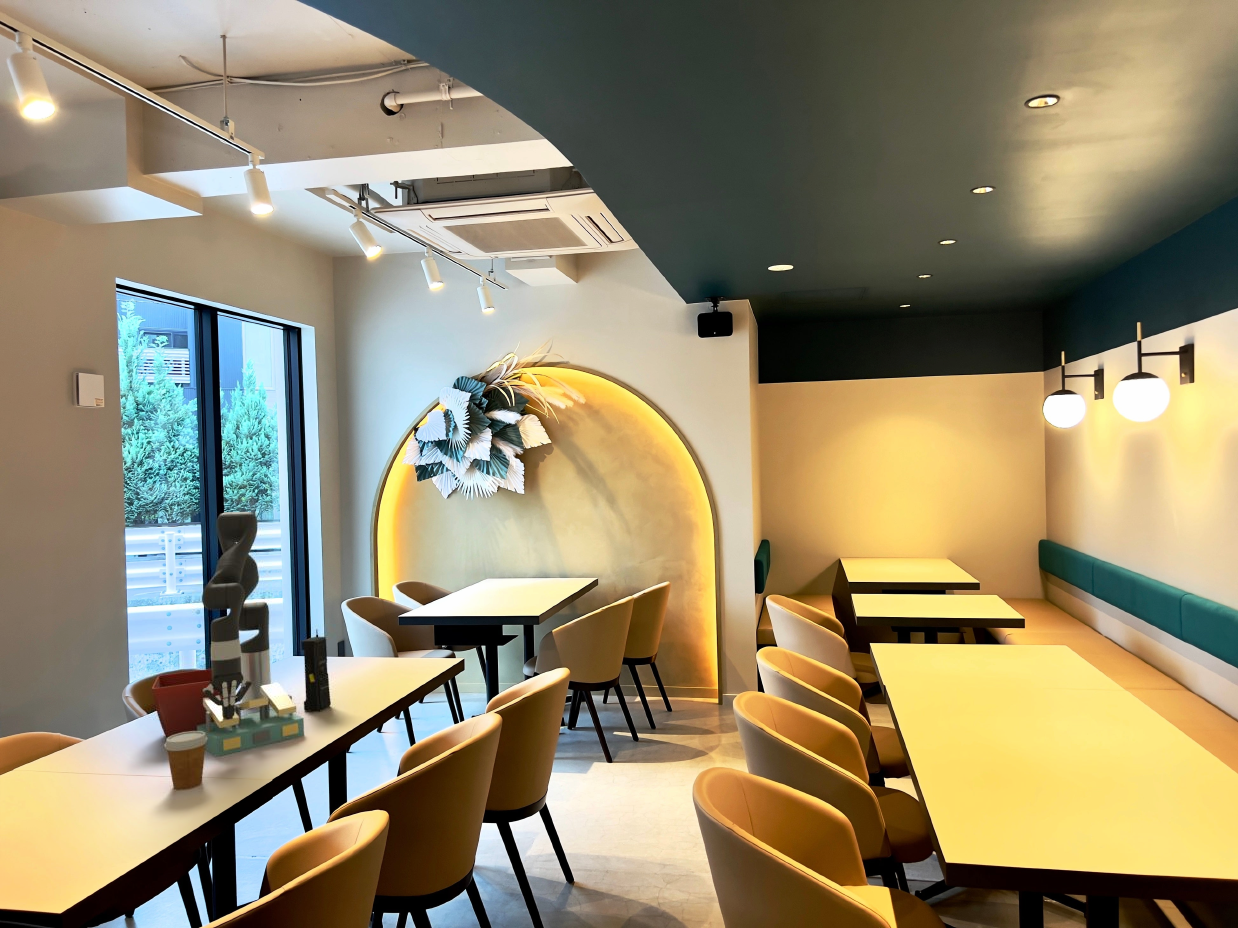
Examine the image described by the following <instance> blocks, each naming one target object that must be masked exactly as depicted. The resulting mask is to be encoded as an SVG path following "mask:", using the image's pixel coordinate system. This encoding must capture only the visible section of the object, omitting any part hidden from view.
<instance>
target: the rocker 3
mask: <svg viewBox="0 0 1238 928" xmlns="http://www.w3.org/2000/svg"><path fill="white" fill-rule="evenodd" d="M260 693H261V694H262V695H263V696H264V698H265V697H267V699H268V701H269V707H271V708H272V709H274V711H275V712H276V713H277V715H278V716H281V715H286V714H290V713H294V714H296V712H297V705H296V704H295V703H294V701H293V699H292V700H291V699H290V697H289V696H288V695H289V694H287V692H286V691H285V690H284V689H283V688H282V686H281V685H280V684H279V682H274V683H271V684H268V685H263V686H261V687H260Z"/></svg>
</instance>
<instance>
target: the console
mask: <svg viewBox="0 0 1238 928" xmlns="http://www.w3.org/2000/svg"><path fill="white" fill-rule="evenodd" d="M287 695H288V696H289V697H290V699H291V700H292V701H293V697H292V696H293V695H290V694H287ZM258 709H259V711H258V712H253V713H249V714H245V715H244V714H243V715H242V711H241V707H240V706H238V705H237V706H236V710H235V707H234V710H235V713H236V714H237V715H238V717H239V724H236V725H232V726H227V727H222V728H219V726H218V725H217V724H216V722H212V723H211V713H210V712H206V724H202V725H198V726H197V731H202V732H205V734H206V737H207V738H208V739H207V741H206V744H205V750H207V751H209V752H210V753H211V754H212V753H213V754H212V755H214V756H215V755H216V756H215V757H220V756H219V755H221V756H224V754H225V755H228V754H227V753H229V754H233V753H237V752H240V750H241V751H246V750H249V748H250V749H253V747H254V748H257V746H258V747H261V746H266V745H269V743H270V744H274V743H278V742H277V741H279V742H282V741H281V740H283V741H286V740H285V739H287V740H290V738H291V739H294V738H299V737H303V736H305V725H304V723H305V721H304V717H302V716H300V715H298V714H296V713H290V714H286V715H281V716H278V715H277V713H276V712H275V711H274V709H273V708H272V709H270V704H269V701H268V704H267V705H263V706H259V708H258ZM273 742H274V743H273ZM245 749H246V750H245Z"/></svg>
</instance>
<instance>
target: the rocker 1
mask: <svg viewBox="0 0 1238 928" xmlns="http://www.w3.org/2000/svg"><path fill="white" fill-rule="evenodd" d="M216 697H217V698H218V699H219V700H220V696H219V695H218V696H216ZM203 706H204V707H205V708H206V710H207V711H208V712H210V713H211V717H212V718H213V719H214V721H215V722H216V724H217V725H218V726H219V728H222V727H227V726H232V725H236V724H239V717H238V715H237V714H236V713H235V715H234V716H233V718H232V719H229V720H227V719H226V718H223V716H222V706H218V705H216V704H214V703H213V702H212V701H211V700H210V699H209V698H203Z"/></svg>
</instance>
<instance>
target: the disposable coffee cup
mask: <svg viewBox="0 0 1238 928" xmlns="http://www.w3.org/2000/svg"><path fill="white" fill-rule="evenodd" d="M207 739H208V738H207V737H206V734H205V732H202V731H189V732H183V733H178V734H175V735H172V736H170V737H168V738H166V740H165V743H164V745H163V746H164V747H165V749H166V752H167V757H168V759H167V760H168V764H169V769H170V775H171V781H172V787H173V789H174V790H179V789H182V790H188V789H194V788H196V787H198V786H200V785H202V783H203V774H204V763H205V754H206V753H205V752H206V749H205V744H206V741H207ZM195 786H196V787H195Z"/></svg>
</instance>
